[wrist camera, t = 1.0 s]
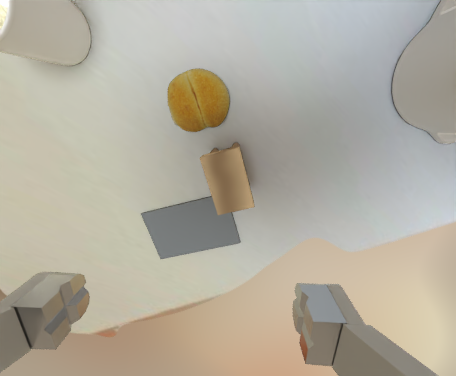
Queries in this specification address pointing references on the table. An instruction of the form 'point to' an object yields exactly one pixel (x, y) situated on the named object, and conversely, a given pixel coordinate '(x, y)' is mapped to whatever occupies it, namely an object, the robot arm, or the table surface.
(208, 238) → the mat
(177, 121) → the bread roll
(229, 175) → the stool
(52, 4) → the candle holder
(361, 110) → the table surface
